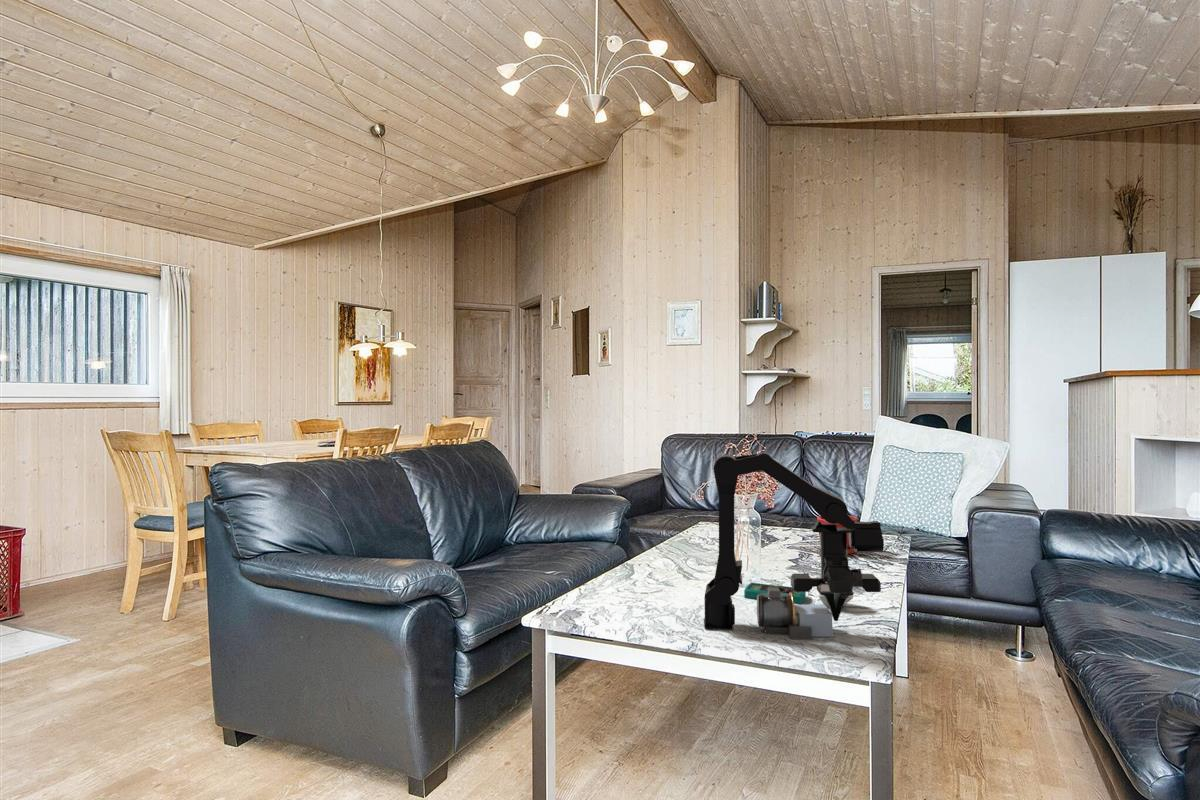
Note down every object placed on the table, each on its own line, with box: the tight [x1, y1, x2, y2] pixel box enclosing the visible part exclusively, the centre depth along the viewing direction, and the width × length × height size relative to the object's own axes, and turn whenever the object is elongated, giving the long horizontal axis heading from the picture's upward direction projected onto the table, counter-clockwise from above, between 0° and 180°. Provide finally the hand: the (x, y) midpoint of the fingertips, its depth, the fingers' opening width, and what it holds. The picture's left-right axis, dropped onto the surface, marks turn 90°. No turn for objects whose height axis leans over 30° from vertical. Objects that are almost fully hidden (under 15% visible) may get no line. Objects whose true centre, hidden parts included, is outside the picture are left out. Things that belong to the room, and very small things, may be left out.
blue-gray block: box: [794, 604, 834, 638], centre depth 158 cm, size 8×7×5 cm
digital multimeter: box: [743, 582, 807, 605], centre depth 185 cm, size 8×15×3 cm, turn 67°
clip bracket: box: [788, 625, 813, 641], centre depth 159 cm, size 5×11×2 cm, turn 173°
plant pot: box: [816, 514, 859, 555], centre depth 238 cm, size 13×13×12 cm
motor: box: [756, 587, 795, 636], centre depth 159 cm, size 8×8×9 cm
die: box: [817, 582, 854, 607], centre depth 177 cm, size 8×9×10 cm
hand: (835, 620), depth 158 cm, fingers closed
